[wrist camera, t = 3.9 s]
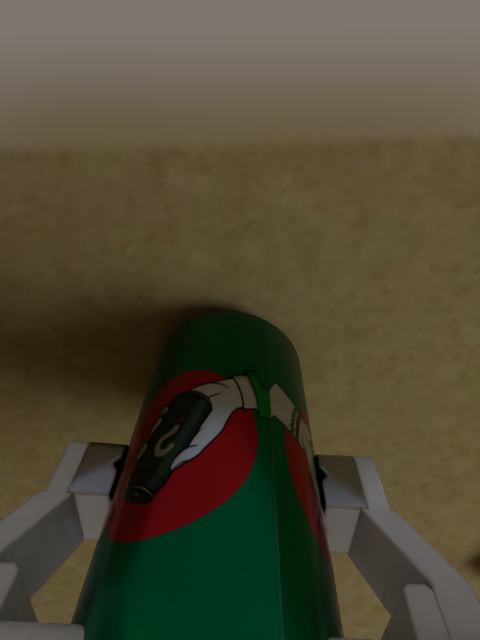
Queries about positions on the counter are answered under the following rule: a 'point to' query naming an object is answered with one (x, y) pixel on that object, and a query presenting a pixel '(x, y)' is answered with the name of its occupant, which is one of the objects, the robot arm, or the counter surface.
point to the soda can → (216, 500)
